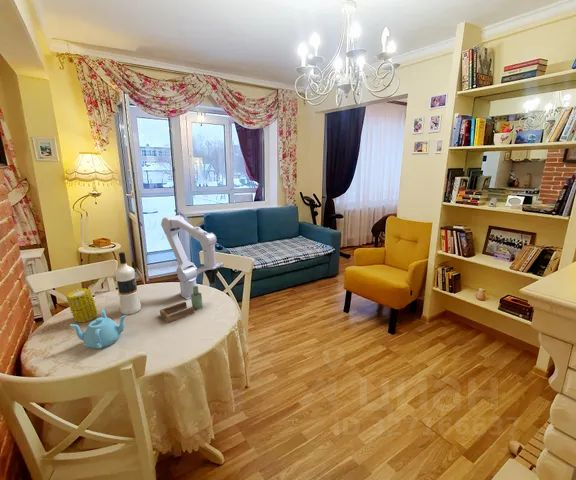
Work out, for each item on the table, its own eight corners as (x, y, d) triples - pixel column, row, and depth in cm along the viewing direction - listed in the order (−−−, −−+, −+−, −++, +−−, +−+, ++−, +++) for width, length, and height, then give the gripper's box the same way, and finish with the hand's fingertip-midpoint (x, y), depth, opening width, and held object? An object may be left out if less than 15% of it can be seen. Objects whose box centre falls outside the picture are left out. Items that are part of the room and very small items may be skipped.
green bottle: (190, 307, 150) (188, 287, 147) (199, 304, 153) (197, 284, 150) (195, 310, 146) (192, 290, 143) (204, 307, 150) (202, 287, 147)
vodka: (118, 310, 148) (108, 252, 140) (138, 304, 154) (130, 248, 146) (122, 317, 141) (112, 256, 133) (143, 311, 147) (134, 252, 139)
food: (102, 318, 144) (80, 329, 135) (87, 308, 148) (65, 318, 140) (100, 291, 138) (76, 301, 129) (84, 282, 142) (60, 291, 134)
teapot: (97, 356, 113) (92, 332, 110) (72, 346, 119) (67, 323, 116) (131, 336, 126) (127, 314, 123) (107, 328, 132) (103, 307, 129)
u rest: (160, 315, 142) (159, 310, 141) (185, 306, 150) (185, 301, 150) (168, 323, 135) (167, 317, 135) (194, 313, 144) (193, 307, 143)
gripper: (200, 262, 142) (202, 289, 145) (226, 256, 152) (228, 281, 155) (193, 259, 147) (195, 285, 150) (219, 253, 157) (221, 277, 160)
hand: (211, 282), depth 153 cm, fingers closed
